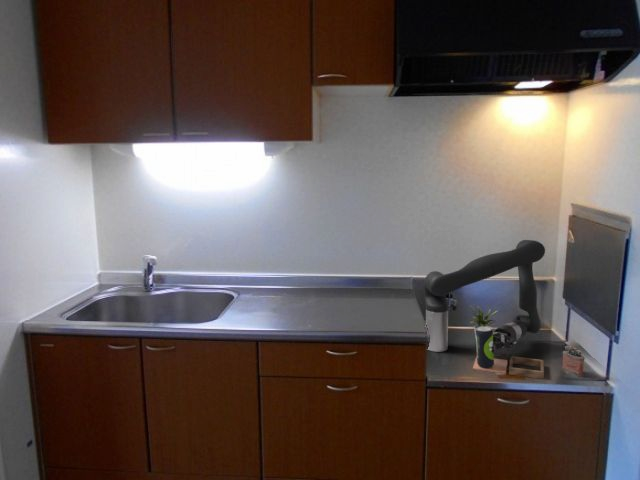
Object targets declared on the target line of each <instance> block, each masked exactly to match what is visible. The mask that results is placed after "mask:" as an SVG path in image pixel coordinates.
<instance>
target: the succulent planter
mask: <svg viewBox="0 0 640 480" xmlns="http://www.w3.org/2000/svg"><path fill="white" fill-rule="evenodd" d="M564 349H565V350H562V367H561V371H562V372H564V373H566V374H568V373H569V374H568V375H570V374H571V375H570V376H573V375H575V376H574V377H576V376H578V377H577V378H584V364H585V363H584V360H585V356H584V355H582V350H580V349H578V348H577V347H572V346H570V345H565V346H564Z"/></svg>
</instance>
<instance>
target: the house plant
mask: <svg viewBox="0 0 640 480" xmlns="http://www.w3.org/2000/svg"><path fill="white" fill-rule="evenodd" d="M470 307H471V308H472V309H473V310H474V311H472V310H471V314H472V315H474V316H472V317H471V318H472V319H473V320H471V319H470V318H468V320H470V323H469V325H470V324H473V323H477V324H476V325H474V326H473V328H474V336H475V339H476V330H477V329H476V328H477V327H479V326H488V327H490V325H491V324H494V322H495V320H494V319H490V318H491V317H492V316H493V315H494V314H495V313H497V312H499V310H495V311H494V312H493V313H491V314H490V312H491V309H489V310H488V312H487V314H486V315H485V316H484V312H485V311H486V309H483V311H482V309H481V308H480V306H479V305H477V308H478V309H477V310H478V312H477V310H476V309H475V307H474V306H472V305H470Z"/></svg>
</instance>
